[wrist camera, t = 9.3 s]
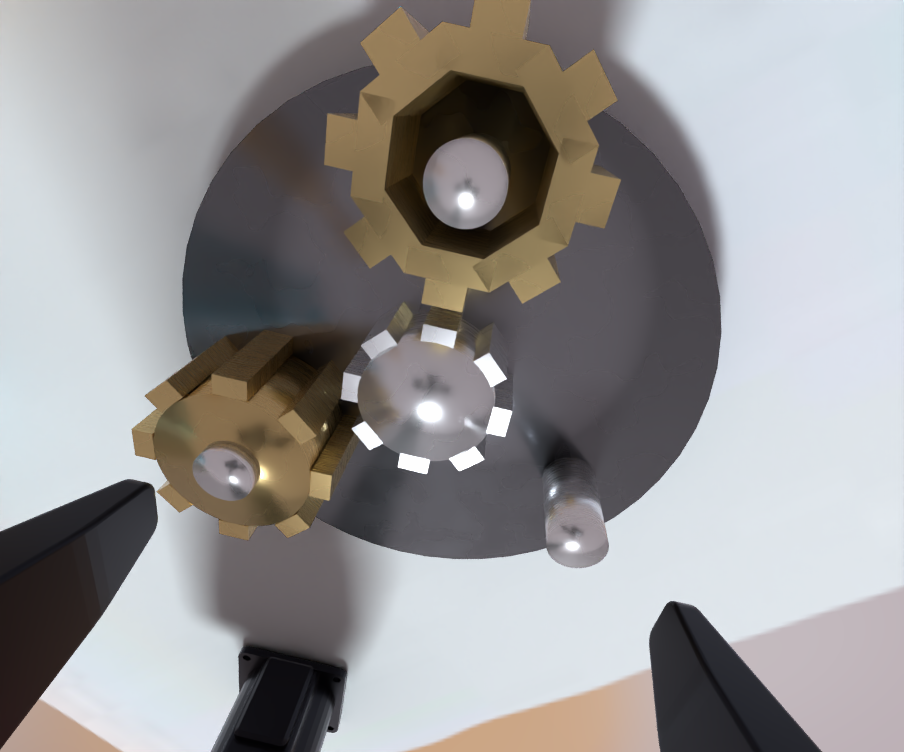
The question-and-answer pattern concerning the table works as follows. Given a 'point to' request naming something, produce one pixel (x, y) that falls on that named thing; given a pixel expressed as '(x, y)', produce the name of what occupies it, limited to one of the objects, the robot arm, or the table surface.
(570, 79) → the planet gear
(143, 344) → the table surface
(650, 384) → the carrier
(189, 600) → the table surface
